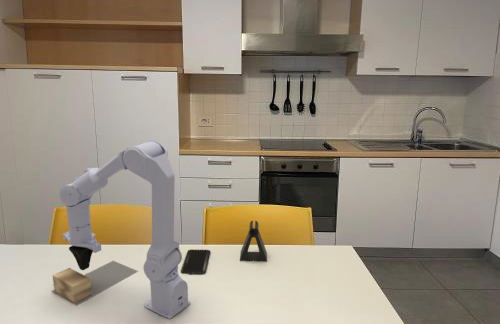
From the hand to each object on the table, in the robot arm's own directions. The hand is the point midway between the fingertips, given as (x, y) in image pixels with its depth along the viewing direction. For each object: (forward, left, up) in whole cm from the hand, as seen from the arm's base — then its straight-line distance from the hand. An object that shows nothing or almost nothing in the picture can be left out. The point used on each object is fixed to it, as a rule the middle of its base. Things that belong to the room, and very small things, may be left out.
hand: (84, 268), depth 108 cm
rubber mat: (0, -4, -6) cm, 7 cm away
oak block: (0, +4, -1) cm, 4 cm away
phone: (-17, -28, -7) cm, 34 cm away
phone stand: (-31, -42, -6) cm, 52 cm away
